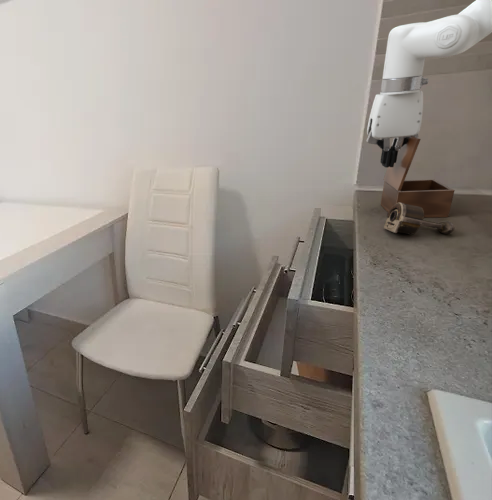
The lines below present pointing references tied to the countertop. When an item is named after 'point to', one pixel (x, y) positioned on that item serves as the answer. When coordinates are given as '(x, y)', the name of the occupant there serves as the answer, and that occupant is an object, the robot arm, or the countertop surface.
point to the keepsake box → (420, 196)
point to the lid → (402, 164)
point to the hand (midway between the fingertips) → (387, 166)
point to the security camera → (412, 220)
